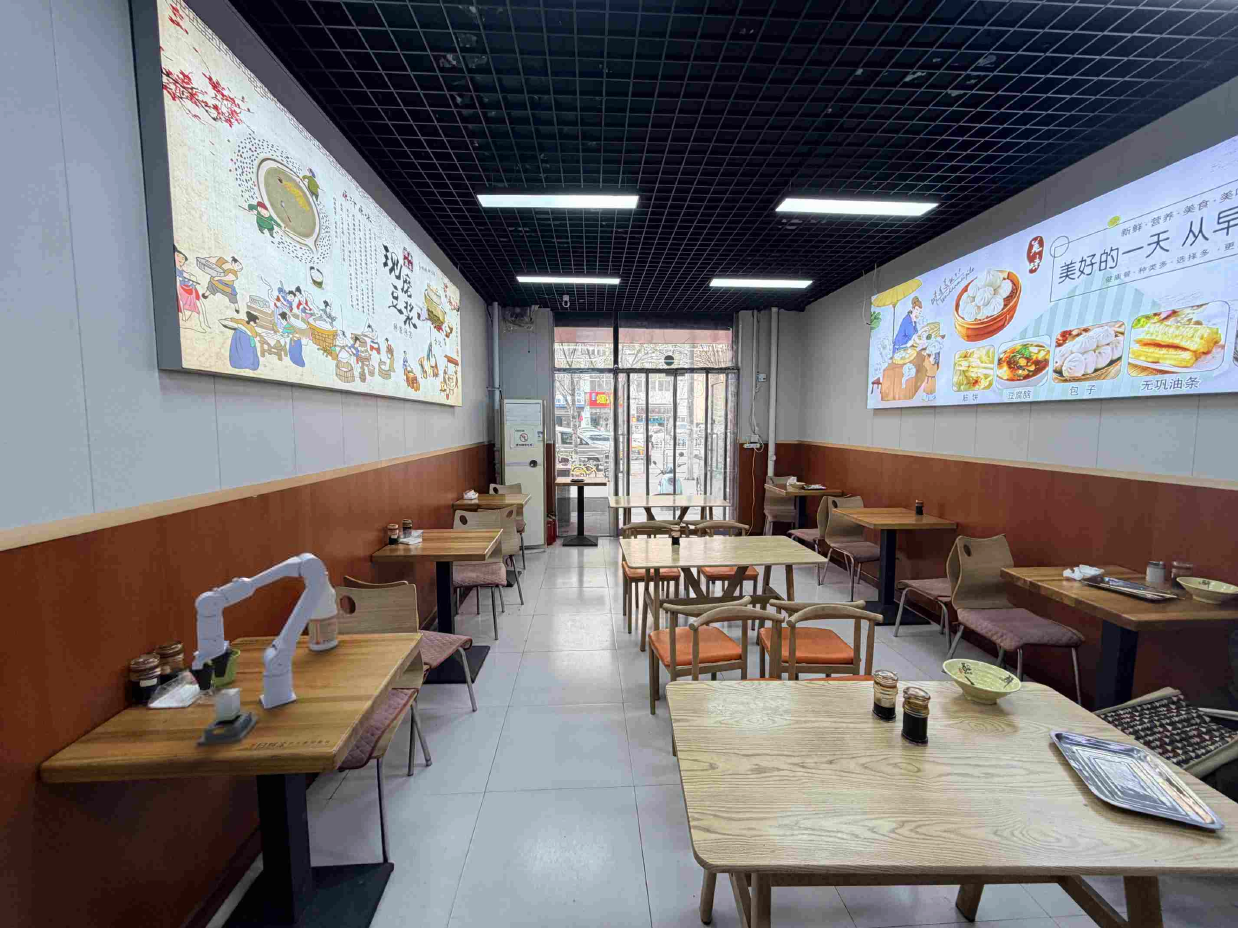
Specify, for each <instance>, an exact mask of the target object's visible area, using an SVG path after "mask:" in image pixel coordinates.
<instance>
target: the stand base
mask: <svg viewBox="0 0 1238 928" xmlns="http://www.w3.org/2000/svg"><path fill="white" fill-rule="evenodd" d="M252 716H253V715H252V710H246V711H245V710H244V711H241V712H240V713H239V714H238V715H237V716H236V717H235V718H234V719H231V720H222V721H215V719H214V720H213V721H211V723H210V724H209V725H207V727H205V728H204V730H203V731H204V734H203V736H201V738H199V740H198V741H196V747H200V746H201V747H202V746H209V745H219V744H225V743H226V744H229V743H235V742H241V741H242V740H244V738H245V737H246V736H247V735H248V733H249V732H250V731H251V730H252V729H253V728H254V726H255V725H256V724H257V723H258V722H259V720H260V716H253V717H252Z"/></svg>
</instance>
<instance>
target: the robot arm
mask: <svg viewBox="0 0 1238 928" xmlns="http://www.w3.org/2000/svg"><path fill="white" fill-rule="evenodd" d="M326 572H327V568H326V566H325V564H324V563H323V561H322V560H321V559H320V558H318V557H316V556H315V555H314V554H313V553H310V552H304V553H301V554H299V555H298V556H294V557H291V558H289V559H287V560H285V561H283V562H281V563H279V564H277V565H274V566H273V567H271V568H269V569H266V570H264V571H263V572H261V573H258V574H257V575H255V576H252V577H251V578H247V577H240V578H238V577H235V578H233V579H232V580H231V582H229V583H227V584H224V585H223V586H221V587H214V588H212V591H206V592H203V593H201V594H200V595H199V596H198V597H197V598H196V600H195V603H194V607H195V609H196V611H197V615H196V619H197V621H196V632H197V635H196V636H197V651H195V652H193V657H195V659H194V661H193V662H192V663H191V666H189V668H188V672H189V673H190V674H191V676H193V678H194V679H195V682H196V684H197V686H198V688H199V690H200V692H203V691H209V690H210V689H211V688H212V687H211V686H212V682H211V680H212V674H213V670H214V675H215V678H220V677H224V676H225V674H226V669H227V665H228V662H229V659H230V657H231V655H232V653H233V650H234V648H233V649H232V648H230V641H229V640H225V635H224V634H225V632H224V617H223V613H222V612H223V609H224V608H226V607H229V606H232V605H234V604H236V603H239V602H240V601H242V600H244V599H246V598H249V597H250V596H252V595H253V594H254V592H255V590H256V589H258V588H260V587H263V586H266V585H268V584H269V583H273V582H275V581H277V580H279V579H282V578H283V577H284V578H285V577H295V578H298V577H299V575H300V576H301V577H302V579H303V582H304V584H305V589H304V590H303V592H302V594H301V596H300V598H299V599H298V601H297V604H296V605H295V606H294V609H293V611H292V613H291V614H290V616H289V617H288V620H287V622H286V623H285V625H284V627H283V628H282V630H281V632H280V634H279V635H278V636H277V637H275V639H273V642H272V643H271V644H270V646H267V648H266V649H265V650H264V651H263V652H262V654H261V661H262V662H263V663H264V665H265V668H264V670H263V671H262V681H263V682H262V683H263V685H262V686H263V694H261V695H260V696H259V698H260V701H261V703H262V705H263V708H264V709H266V710H267V709H270V708H274V707H278V706H280V705H283V704H287V703H290V702H293V701H296V700H297V699H298V698H297V695H295V693H294V690H293V670H292V668H293V667H292V664H293V656H294V654H295V652H296V648H297V642H298V641H299V638H300V637H301V635H302V633H303V631H304V629H305V628H306V626H307V624H308V620H309V618H310V617H311V615H312V613H313V611H314V609H315V608H316V606H317V604H318V602H319V600H320V598H321V597H322V595H323V593H324V591H325V589H326V587H327V584H326ZM210 660H211V662H212V665H209V664H207V662H208V661H210Z"/></svg>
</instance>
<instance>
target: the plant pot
mask: <svg viewBox="0 0 1238 928" xmlns="http://www.w3.org/2000/svg"><path fill="white" fill-rule="evenodd" d="M240 654H241V651H240V650H238V649H233V653H232V655H231V657H230V659H229V662H228V665H227V669H226V674H225V676H224V677H220V678H215V675H214V670H213V674H212V680H211V681H212V682H211V684H212V683H213V684H212V686H214V687H215V686H217V687H218V686H223V685H225V684H227V683H229V684H230V683H231V682H234V681H235V680H236V676H237V666H238V659H239V658H240V657H239V656H240ZM207 664H209V665H212V662H211V660H210V661H208V662H207Z"/></svg>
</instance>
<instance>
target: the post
mask: <svg viewBox="0 0 1238 928" xmlns="http://www.w3.org/2000/svg"><path fill="white" fill-rule="evenodd" d="M240 693H241V692H240V688H239V687H238V688H227V689H222V690H220V692H218V693H217V694H216V695H215V696H214V710H215V712H214V714H215V717H214V720H215V721H222V720H231V719H234V718H235V717H236V716H237V715H238V714H239V713H240V712H242V707H241V695H240Z"/></svg>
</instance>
